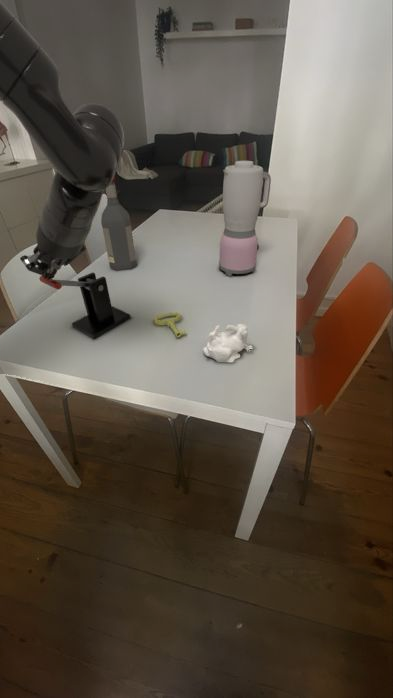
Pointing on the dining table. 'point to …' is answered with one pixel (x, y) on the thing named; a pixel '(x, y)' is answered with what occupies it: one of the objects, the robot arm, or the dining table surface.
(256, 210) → the blender
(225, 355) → the rabbit figurine
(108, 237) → the liquor
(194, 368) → the dining table surface
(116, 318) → the switch bracket
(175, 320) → the key
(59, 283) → the lever
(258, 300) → the dining table surface
